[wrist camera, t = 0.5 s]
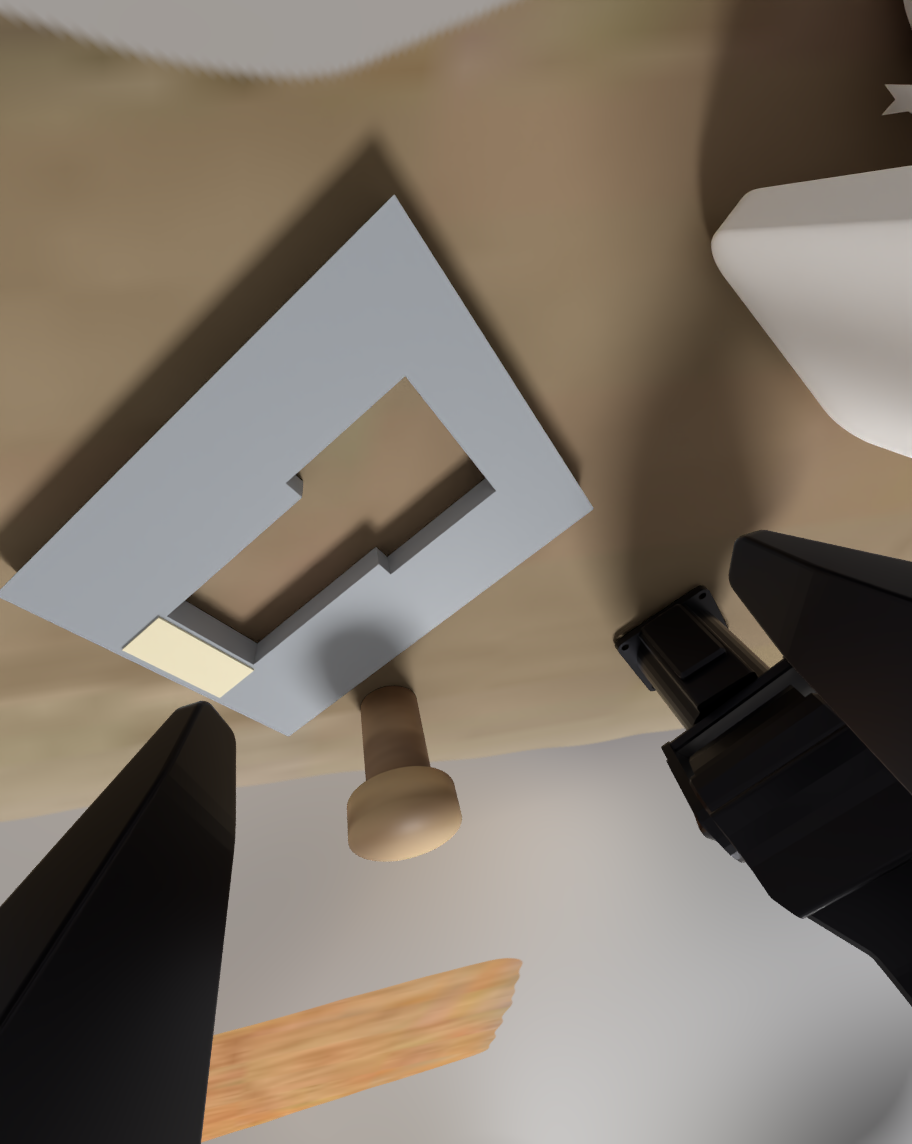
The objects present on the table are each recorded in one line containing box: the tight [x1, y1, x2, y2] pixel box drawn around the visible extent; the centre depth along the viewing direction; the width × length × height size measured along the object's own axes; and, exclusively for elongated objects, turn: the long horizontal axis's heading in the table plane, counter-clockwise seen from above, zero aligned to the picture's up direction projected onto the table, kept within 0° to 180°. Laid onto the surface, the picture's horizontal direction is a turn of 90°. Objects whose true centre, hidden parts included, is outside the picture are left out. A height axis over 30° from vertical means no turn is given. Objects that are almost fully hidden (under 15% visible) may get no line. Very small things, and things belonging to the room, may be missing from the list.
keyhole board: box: [0, 195, 594, 736], centre depth 20 cm, size 20×14×2 cm
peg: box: [347, 686, 462, 861], centre depth 25 cm, size 5×5×8 cm
